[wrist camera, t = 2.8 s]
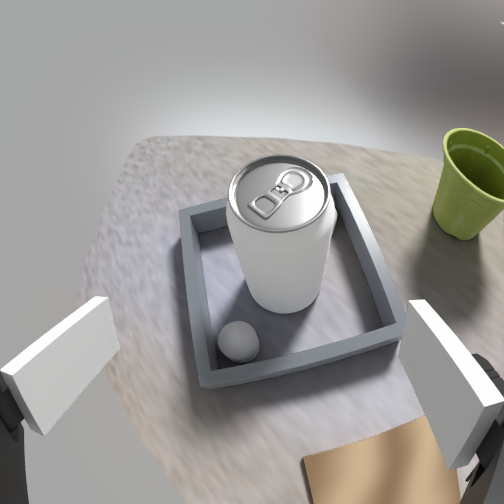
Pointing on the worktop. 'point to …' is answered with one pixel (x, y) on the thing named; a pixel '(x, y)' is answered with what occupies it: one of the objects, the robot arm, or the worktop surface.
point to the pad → (384, 470)
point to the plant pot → (469, 183)
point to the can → (281, 229)
